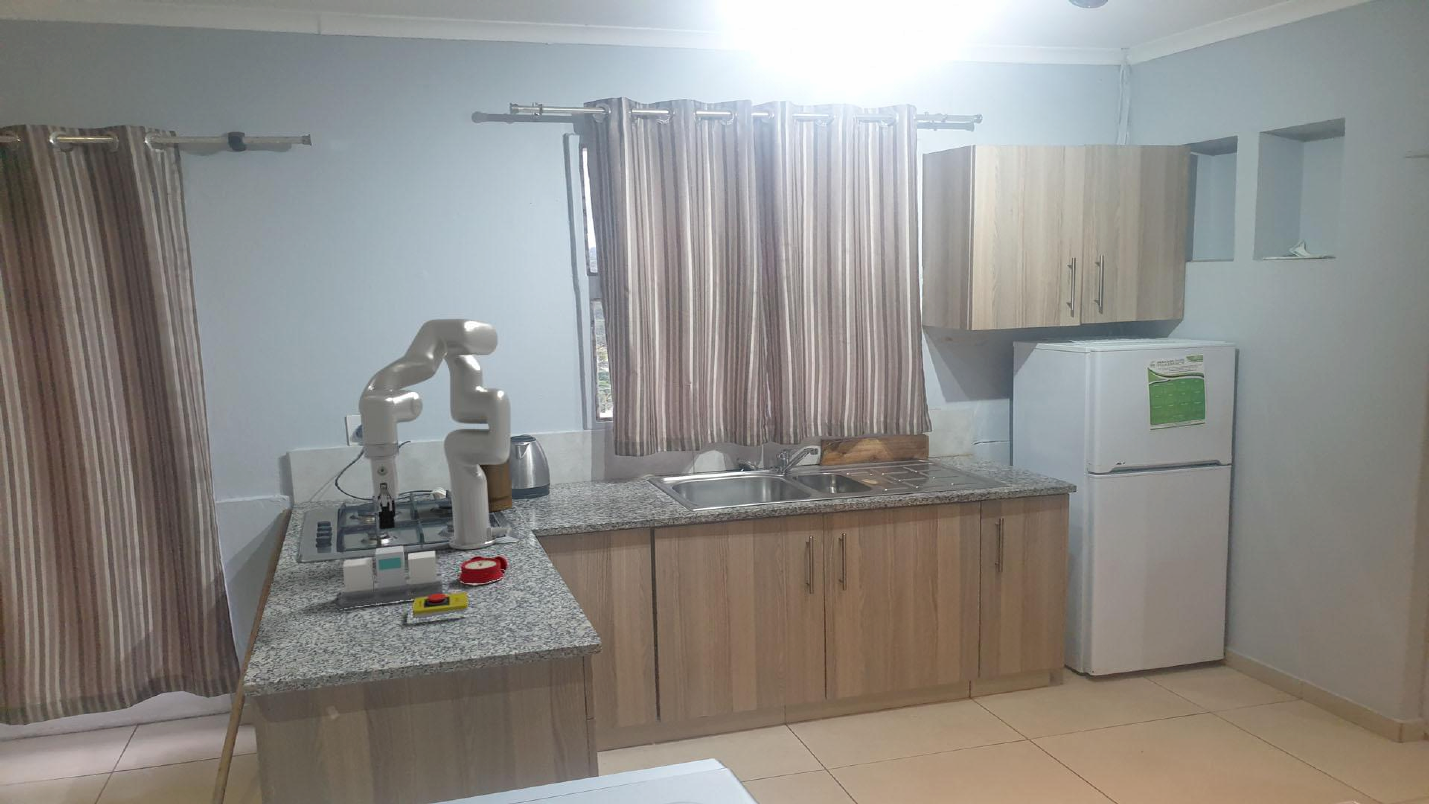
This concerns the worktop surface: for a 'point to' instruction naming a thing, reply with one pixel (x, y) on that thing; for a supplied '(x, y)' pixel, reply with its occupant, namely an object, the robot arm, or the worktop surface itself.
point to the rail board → (389, 593)
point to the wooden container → (498, 486)
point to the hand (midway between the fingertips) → (388, 522)
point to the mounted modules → (362, 576)
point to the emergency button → (439, 605)
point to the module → (390, 566)
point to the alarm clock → (482, 569)
